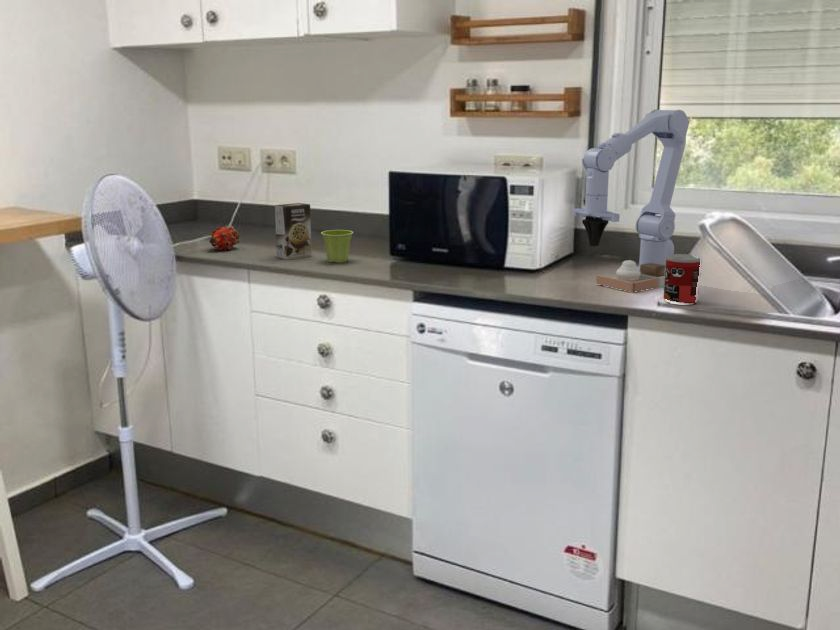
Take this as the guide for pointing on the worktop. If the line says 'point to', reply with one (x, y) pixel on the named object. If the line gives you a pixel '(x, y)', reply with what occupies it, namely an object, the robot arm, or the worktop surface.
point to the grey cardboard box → (293, 230)
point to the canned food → (681, 278)
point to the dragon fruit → (224, 238)
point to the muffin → (628, 271)
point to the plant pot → (337, 244)
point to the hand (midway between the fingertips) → (594, 245)
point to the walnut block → (652, 269)
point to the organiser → (641, 284)
